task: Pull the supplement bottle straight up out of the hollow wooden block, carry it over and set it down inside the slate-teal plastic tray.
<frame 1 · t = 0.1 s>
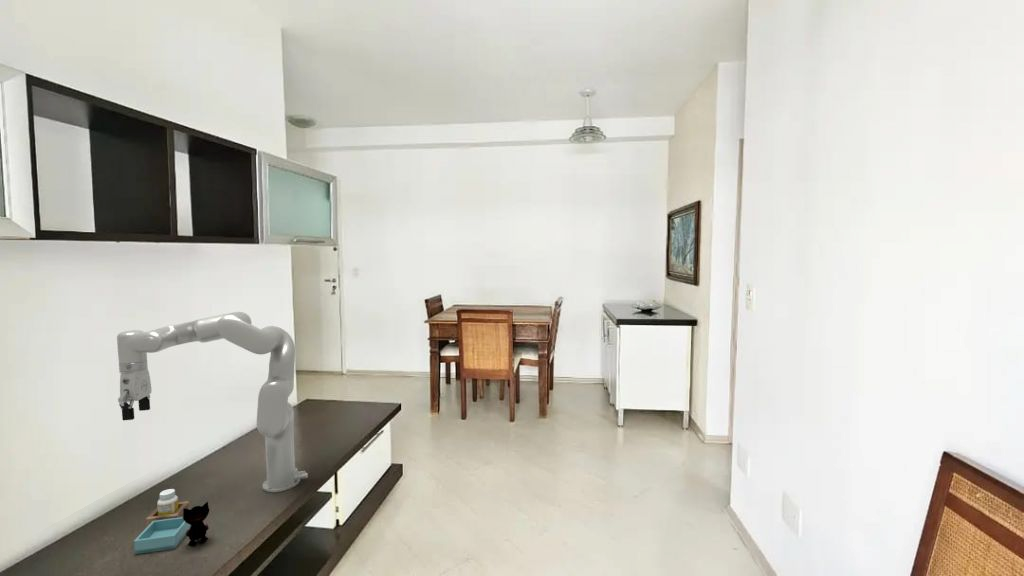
hand: (136, 414, 156), 31 cm above the table, tool pointing down, fingers open, 9 cm apart
tray: (164, 540, 136), on the table
cat figurine: (198, 543, 135), on the table
supplement bottle: (168, 520, 147), resting in hollow wooden block
hollow wooden block: (168, 520, 147), on the table
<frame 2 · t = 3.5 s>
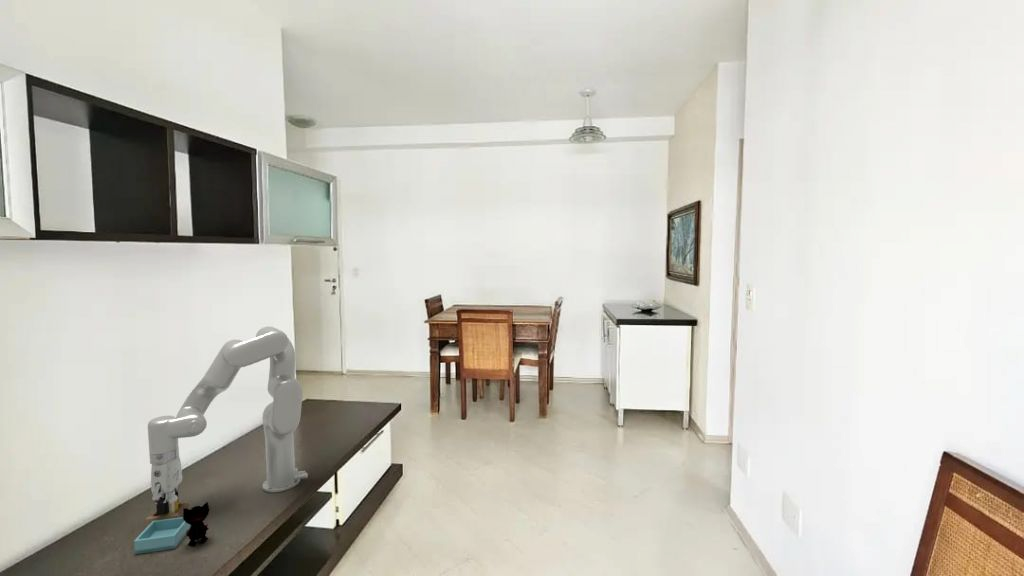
hand: (168, 508, 147), 4 cm above the table, tool pointing down, fingers closed on supplement bottle, 5 cm apart
supplement bottle: (168, 520, 147), resting in hollow wooden block, touching gripper
everything else where it was.
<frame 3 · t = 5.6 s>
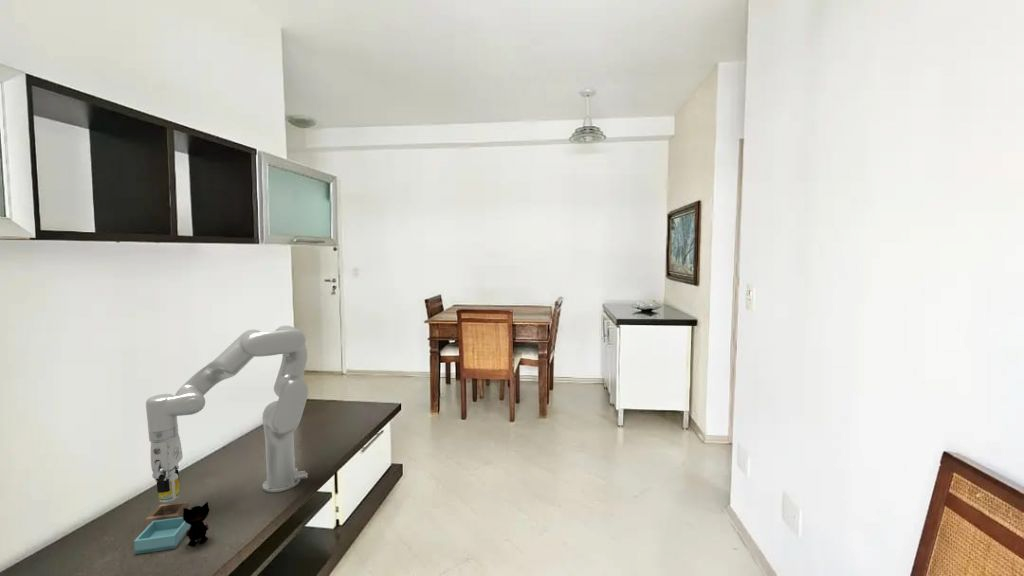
hand: (168, 486, 146), 11 cm above the table, tool pointing down, fingers closed on supplement bottle, 5 cm apart
supplement bottle: (169, 498, 147), point 7 cm above the table, touching gripper
everything else where it was.
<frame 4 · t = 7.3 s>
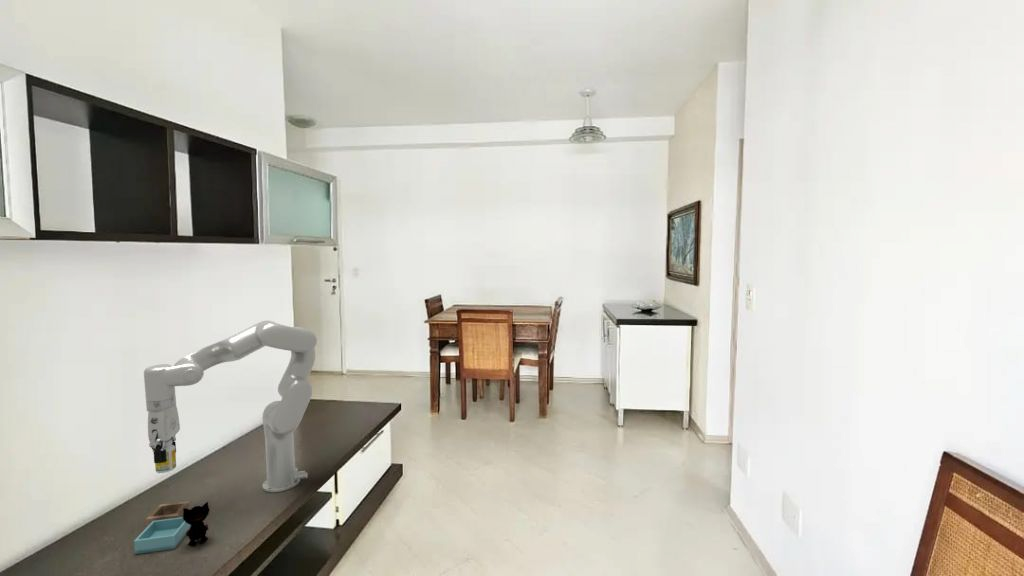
hand: (165, 457, 145), 21 cm above the table, tool pointing down, fingers closed on supplement bottle, 5 cm apart
supplement bottle: (166, 470, 146), point 17 cm above the table, touching gripper
everything else where it was.
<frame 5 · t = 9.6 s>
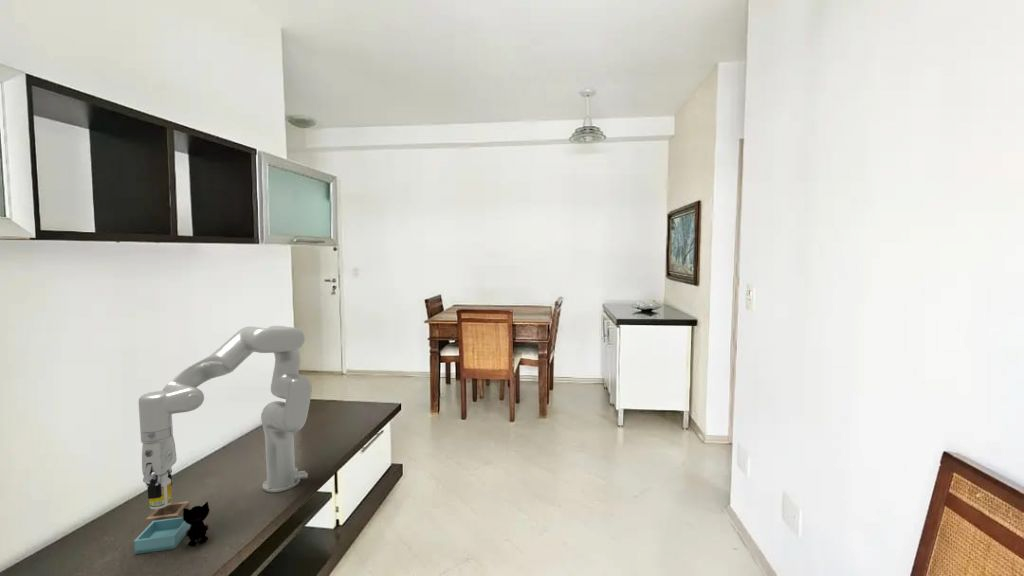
hand: (160, 491, 135), 15 cm above the table, tool pointing down, fingers closed on supplement bottle, 5 cm apart
supplement bottle: (160, 505, 135), point 11 cm above the table, touching gripper
everything else where it was.
when the fingers open (7 cm above the table, at t = 11.4 s): supplement bottle drops 2 cm, resting on tray.
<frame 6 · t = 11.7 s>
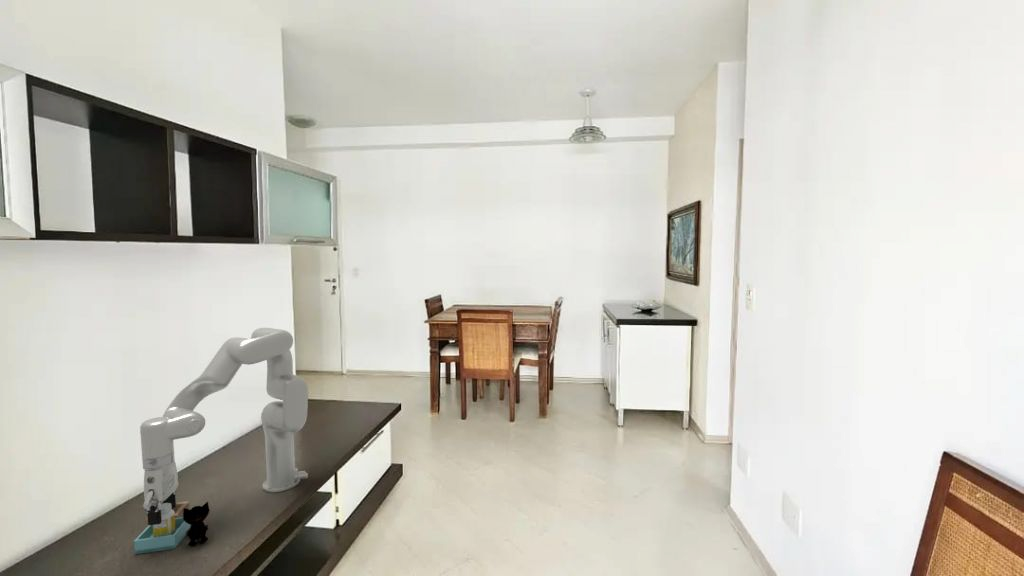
hand: (162, 515, 136), 8 cm above the table, tool pointing down, fingers open, 8 cm apart
supplement bottle: (164, 537, 137), point 1 cm above the table, touching tray
everything else where it was.
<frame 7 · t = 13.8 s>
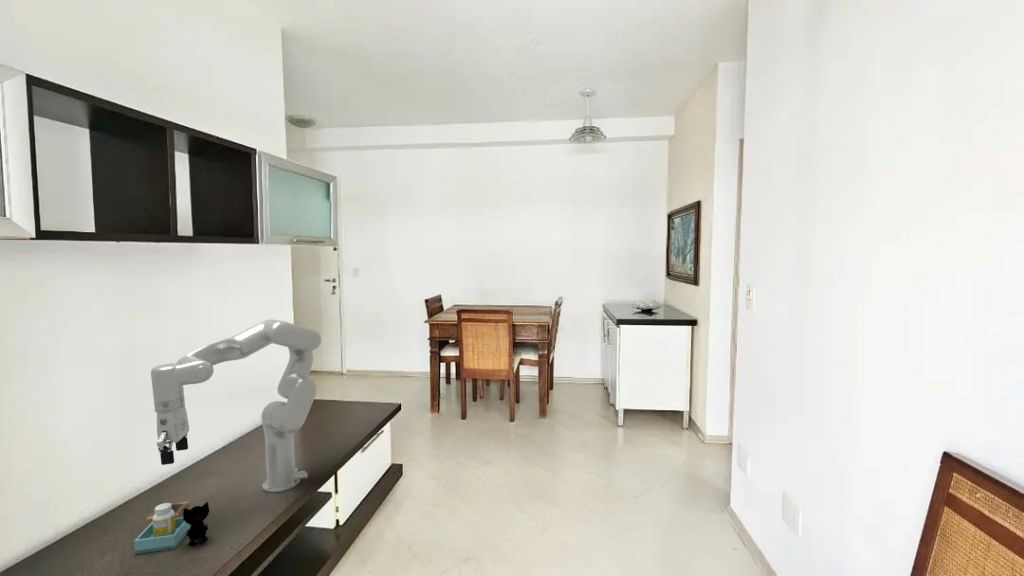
hand: (175, 456, 141), 23 cm above the table, tool pointing down, fingers open, 9 cm apart
nothing on the table moved.
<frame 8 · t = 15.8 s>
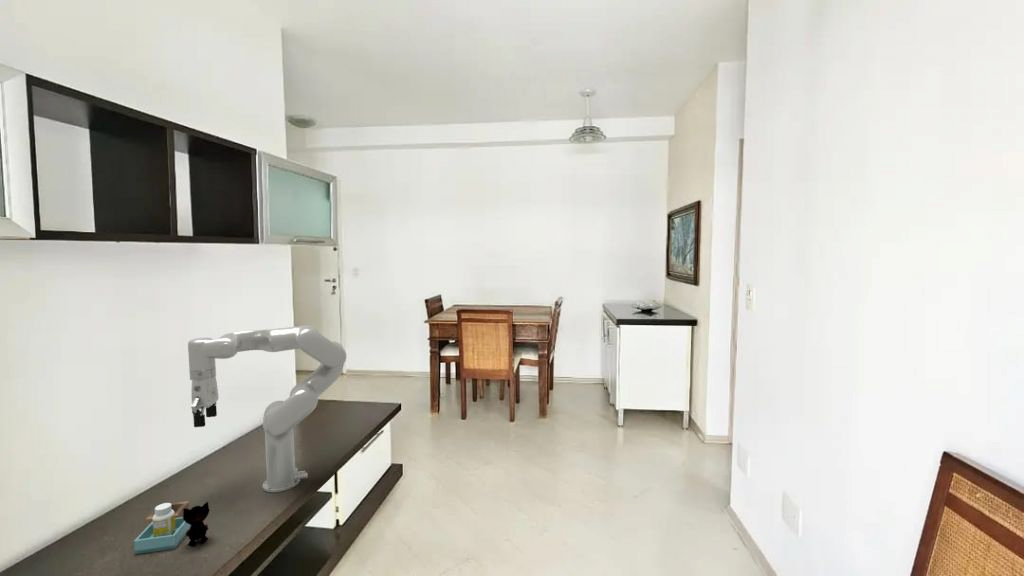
hand: (205, 421, 157), 28 cm above the table, tool pointing down, fingers open, 9 cm apart
nothing on the table moved.
at the end: supplement bottle inside the target area on the tray (0.4 cm from its centre), point 0.8 cm above the tray's base; supplement bottle tilted 0°; the gripper is holding nothing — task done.
